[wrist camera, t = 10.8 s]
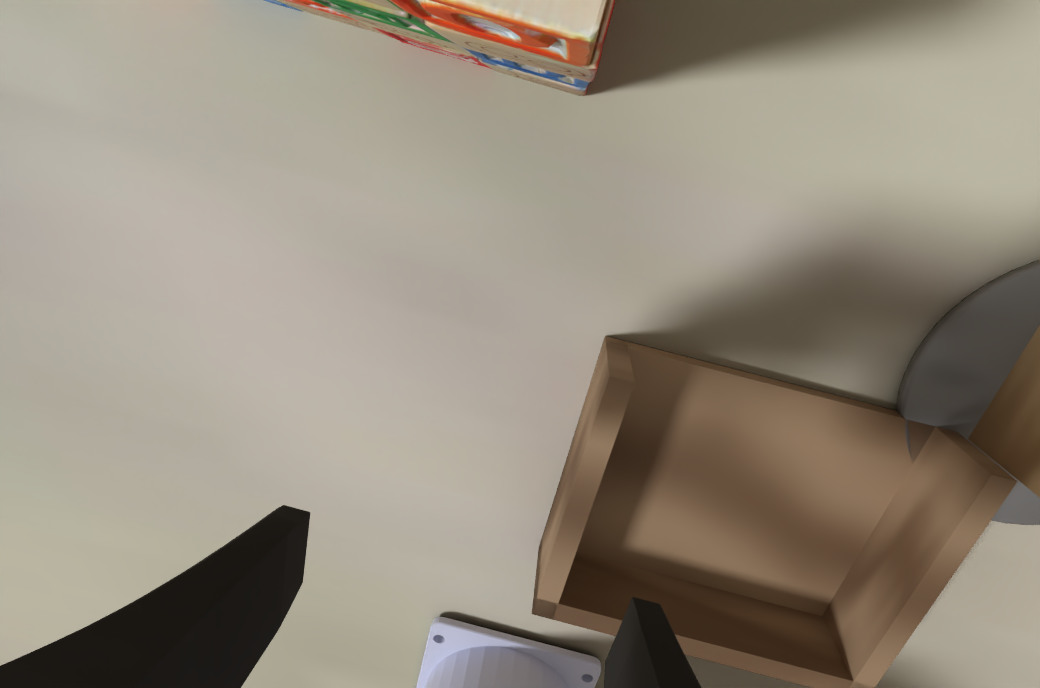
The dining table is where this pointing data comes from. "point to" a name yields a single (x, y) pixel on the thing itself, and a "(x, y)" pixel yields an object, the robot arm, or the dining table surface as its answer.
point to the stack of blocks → (490, 32)
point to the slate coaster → (975, 367)
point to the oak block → (1015, 420)
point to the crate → (758, 517)
